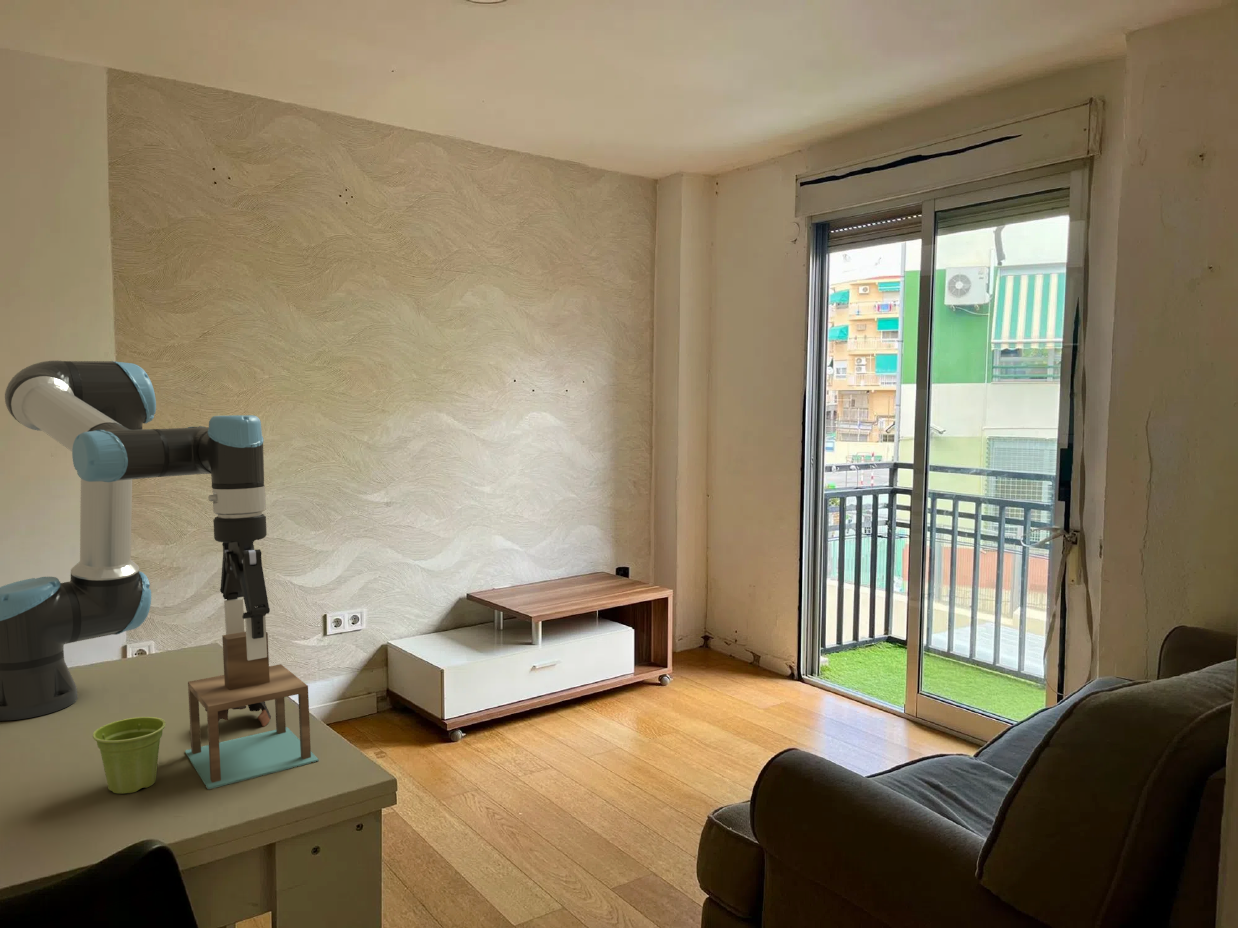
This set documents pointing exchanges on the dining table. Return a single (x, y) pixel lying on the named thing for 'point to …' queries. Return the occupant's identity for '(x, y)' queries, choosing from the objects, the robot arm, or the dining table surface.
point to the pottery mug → (263, 717)
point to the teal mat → (251, 757)
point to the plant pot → (130, 752)
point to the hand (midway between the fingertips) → (245, 648)
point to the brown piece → (244, 696)
